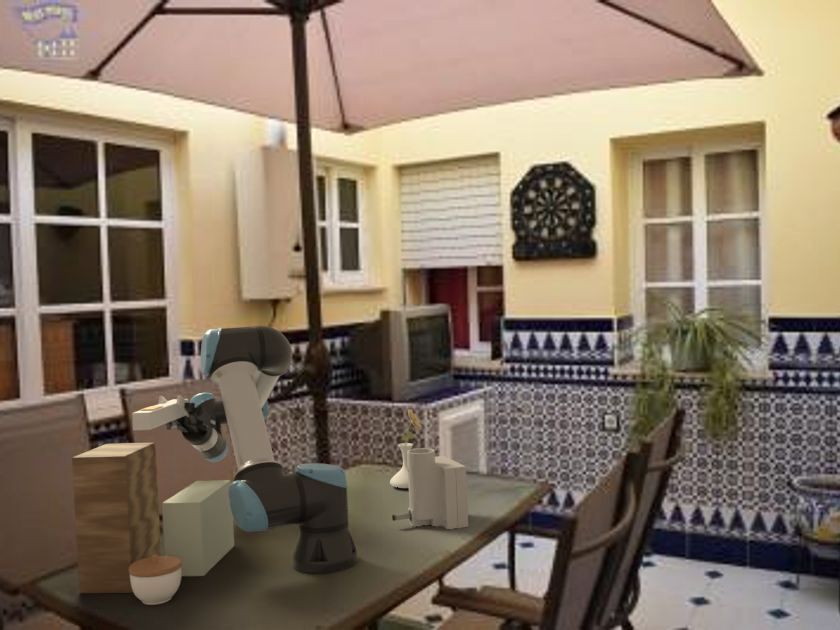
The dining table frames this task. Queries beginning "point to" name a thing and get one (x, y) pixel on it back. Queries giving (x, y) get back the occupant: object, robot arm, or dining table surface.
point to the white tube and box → (435, 490)
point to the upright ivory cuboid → (199, 526)
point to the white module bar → (156, 415)
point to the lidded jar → (155, 578)
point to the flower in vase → (405, 454)
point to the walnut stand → (115, 514)
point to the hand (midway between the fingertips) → (169, 400)
